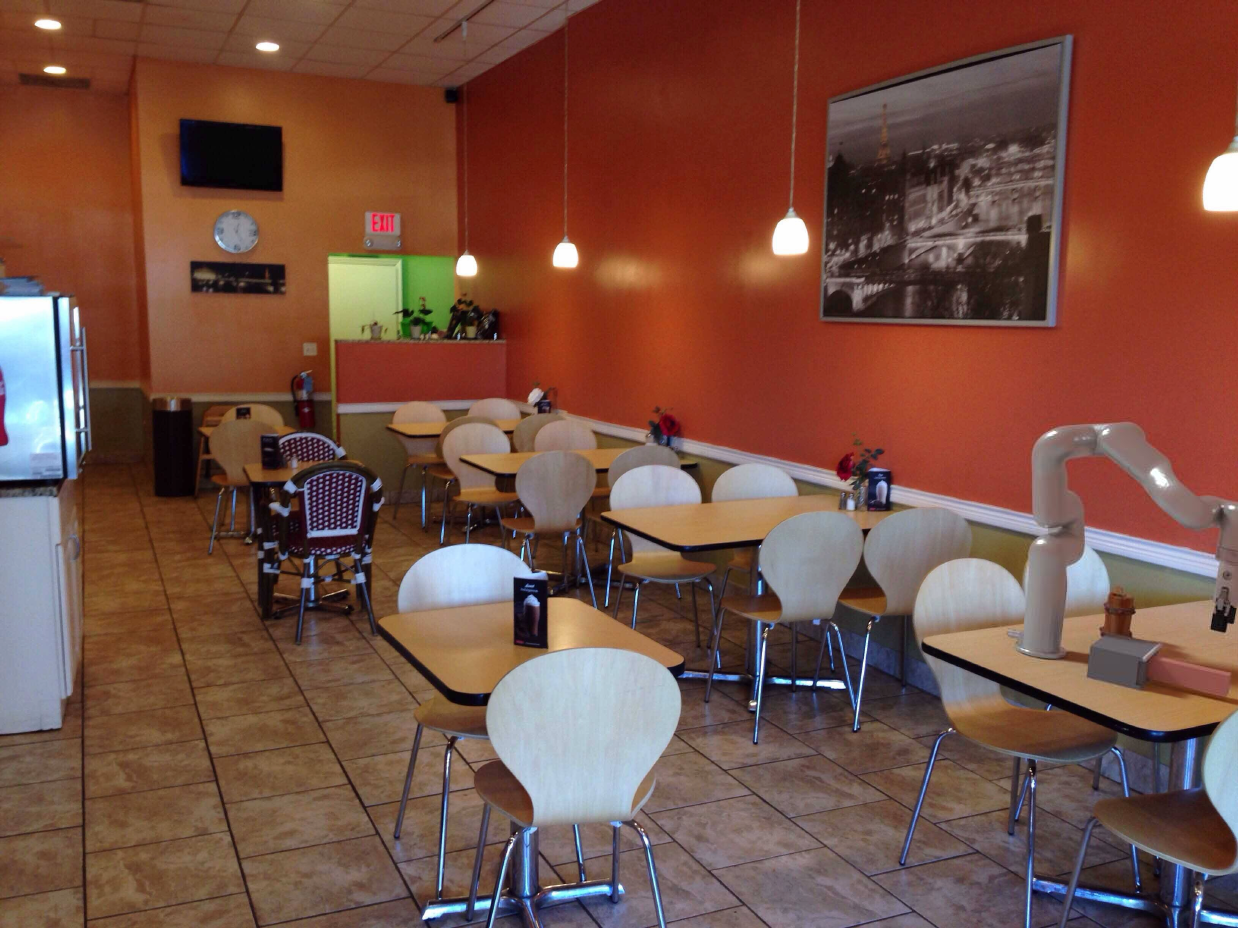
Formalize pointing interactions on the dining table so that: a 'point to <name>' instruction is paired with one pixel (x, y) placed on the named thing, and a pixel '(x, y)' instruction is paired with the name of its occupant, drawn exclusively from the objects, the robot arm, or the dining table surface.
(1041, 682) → the dining table surface
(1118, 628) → the brown wooden cylinder bundle
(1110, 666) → the dispenser
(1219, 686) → the long pink plank
